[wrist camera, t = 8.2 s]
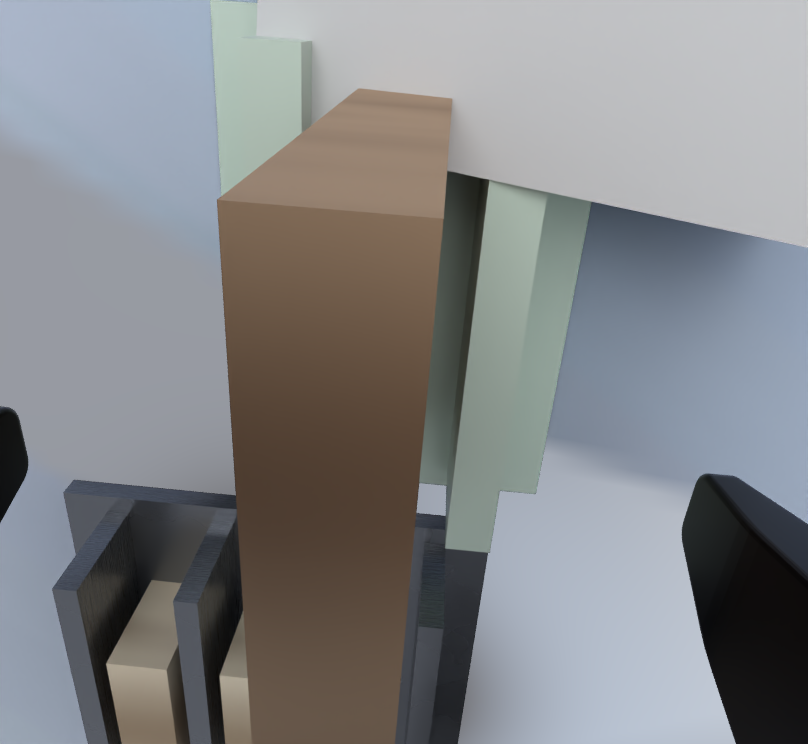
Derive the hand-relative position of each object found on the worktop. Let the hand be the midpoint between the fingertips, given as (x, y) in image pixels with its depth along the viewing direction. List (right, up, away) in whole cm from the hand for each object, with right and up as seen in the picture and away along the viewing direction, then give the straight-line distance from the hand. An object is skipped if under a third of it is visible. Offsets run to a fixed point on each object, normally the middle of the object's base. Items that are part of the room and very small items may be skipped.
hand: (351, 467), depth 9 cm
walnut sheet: (+1, +4, +6) cm, 7 cm away
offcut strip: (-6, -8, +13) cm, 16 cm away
